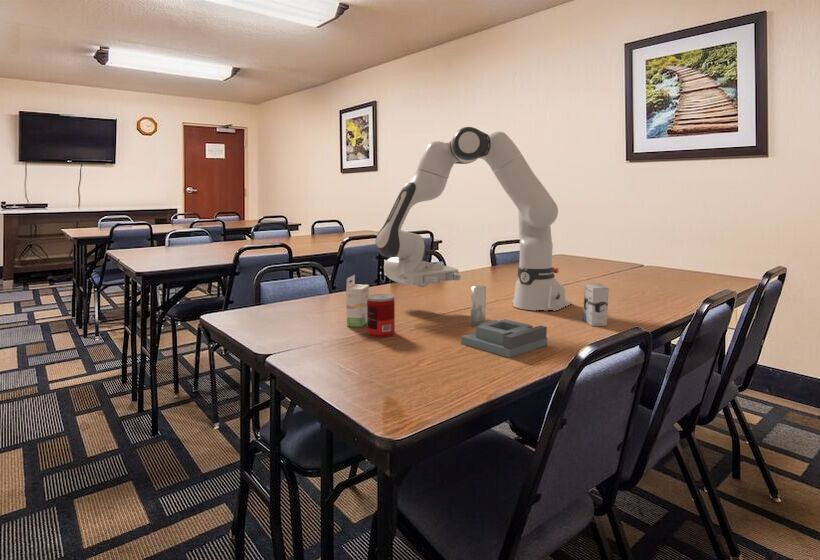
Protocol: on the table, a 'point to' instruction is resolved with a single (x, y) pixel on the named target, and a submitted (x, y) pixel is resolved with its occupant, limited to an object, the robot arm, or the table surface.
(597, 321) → the ink box
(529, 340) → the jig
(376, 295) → the canned food
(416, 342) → the table surface
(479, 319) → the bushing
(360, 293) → the ink box
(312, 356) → the table surface
